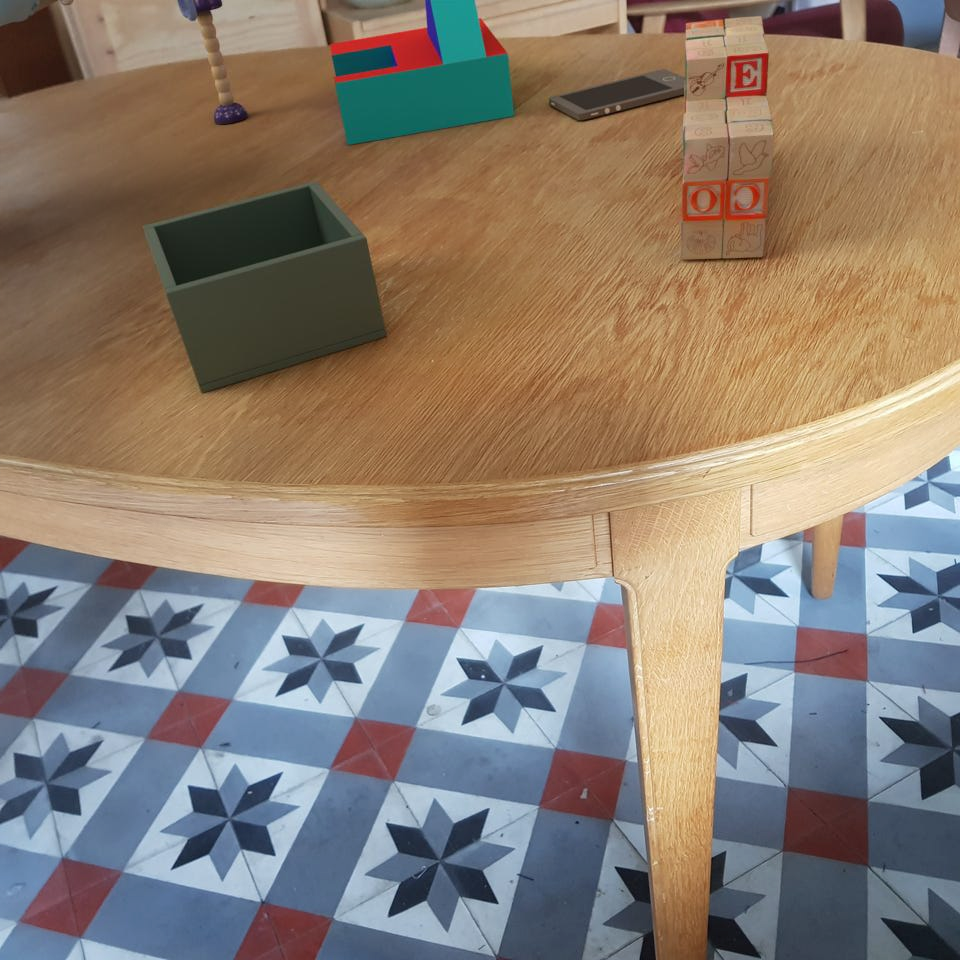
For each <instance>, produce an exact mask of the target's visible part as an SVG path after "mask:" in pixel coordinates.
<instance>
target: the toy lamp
mask: <svg viewBox="0 0 960 960" xmlns="http://www.w3.org/2000/svg"><path fill="white" fill-rule="evenodd" d="M193 2H194V5H195V8H196V12H197V19H196V20H197V21H198V23H199V25H200V29H199V30H200V34H201V36H202V38H203V46H204V48H205V51H206V53H207V60H208V63H209V65H210V67H211V69H210V70H211V75H212V77H213V79H214V86H215V89H216V91H217V92H218V94H217V95H218V101H219V102H220V105H219V106H217V108H216V109H215V110H214V114H213V122H214V123H215V124H217V125H227V124H228V125H229V124H233V123H237V122H241V121H242V120H245V119H246V118H248V116H249V114H248V111H247V110H246V108H245V107H244V106H243V105H242V104H240V103H238V102H234V94H233V92H232V91H231V83H230V80H229V79H228V77H227V76H228V71H227V67H226V65H225V64H224V56H223V54H222V51H221V49H220V48H221V47H220V46H221V45H220V41H219V39H218V37H217V30H216V29H217V28H216V26H215V24H214V23H213V20H214V17H213V14H212V13H213V12H212V11H213V10H216V9H220V8H221V7H222V6H223V0H193ZM185 3H186V1H185ZM186 7H187V4H186ZM187 9H188V7H187Z"/></svg>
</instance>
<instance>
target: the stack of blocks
mask: <svg viewBox="0 0 960 960" xmlns="http://www.w3.org/2000/svg"><path fill="white" fill-rule="evenodd" d="M684 35H685V38H684V39H685V40H684V61H685V62H684V63H685V64H684V69H685V71H684V72H685V73H684V74H685V76H684V77H685V84H684V94H683V117H682V182H681V225H680V227H681V229H680V233H681V235H680V237H681V238H680V241H681V257H680V258H681V260H715V259H738V258H739V259H741V258H742V259H744V258H762V257H764V256H765V255H764V254H765V244H766V226H767V225H766V224H767V217H768V208H769V207H768V206H769V196H770V195H769V194H770V193H769V192H770V177H772V172H773V171H772V170H773V159H774V146H775V145H774V144H775V131H774V128H773V123H772V122H773V121H772V115H771V110H770V104H769V100H768V96H767V95H768V79H769V59H770V58H769V57H770V53H769V49H768V45H767V43H766V41H765V30H764V23H763V17H762V16H761V15H756V16H743V17H731V18H724V19H713V20H703V21H702V20H701V21H693V22H687V23H685V34H684Z"/></svg>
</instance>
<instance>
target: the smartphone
mask: <svg viewBox="0 0 960 960" xmlns="http://www.w3.org/2000/svg"><path fill="white" fill-rule="evenodd" d="M684 84H685V76H683V75H680V74H678V73H675V72H673V71H671V70H667V69H665V68H664V69H663V68H662V69H658V70H653V71H649V72H645V73H641V74H638V75H637V74H636V75H632V76H629V77H625V78H620V79H616V80H613V81H609V82H605V83H601V84H597V85H593V86H589V87H585V88H581V89H577V90H576V89H575V90H573V91H569V92H565V93H560V94H557V95H553V96H550V97H549V98H548V103H549V104H548V105H549V106H551V107H553V108H555V109H557V110H558V111H561V112H562V113H563V114H565V115H567V116H569V117H572V118H573V119H575V120H577V121H584V120H589V119H593V118H597V117H600V116H605V115H608V114H612V113H616V112H620V111H624V110H627V109H628V110H629V109H632V108H636V107H639V106H645V105H648V104H652V103H655V102H658V101H659V102H660V101H663V100H667V99H670V98H674V97H678V96H684Z"/></svg>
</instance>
